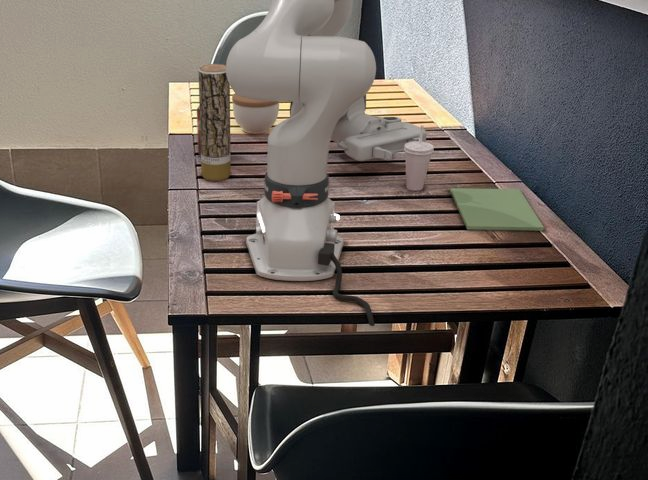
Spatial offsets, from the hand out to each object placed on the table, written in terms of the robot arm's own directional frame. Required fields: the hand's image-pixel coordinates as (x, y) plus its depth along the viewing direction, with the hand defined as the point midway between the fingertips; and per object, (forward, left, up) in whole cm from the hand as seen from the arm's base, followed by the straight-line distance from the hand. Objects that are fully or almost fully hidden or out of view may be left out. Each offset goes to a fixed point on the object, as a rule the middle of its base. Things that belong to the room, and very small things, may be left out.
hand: (409, 152), depth 180 cm
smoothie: (-2, -2, -8) cm, 8 cm away
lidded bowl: (+38, +35, -8) cm, 52 cm away
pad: (-14, -17, -7) cm, 23 cm away
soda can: (+18, +45, -8) cm, 49 cm away
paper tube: (+3, +43, -8) cm, 44 cm away
